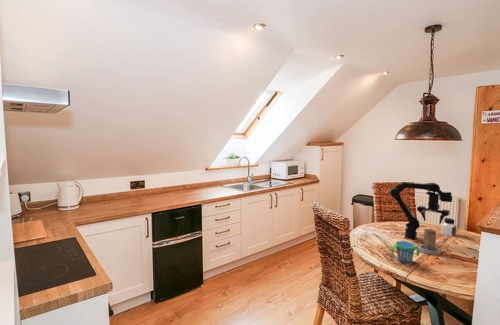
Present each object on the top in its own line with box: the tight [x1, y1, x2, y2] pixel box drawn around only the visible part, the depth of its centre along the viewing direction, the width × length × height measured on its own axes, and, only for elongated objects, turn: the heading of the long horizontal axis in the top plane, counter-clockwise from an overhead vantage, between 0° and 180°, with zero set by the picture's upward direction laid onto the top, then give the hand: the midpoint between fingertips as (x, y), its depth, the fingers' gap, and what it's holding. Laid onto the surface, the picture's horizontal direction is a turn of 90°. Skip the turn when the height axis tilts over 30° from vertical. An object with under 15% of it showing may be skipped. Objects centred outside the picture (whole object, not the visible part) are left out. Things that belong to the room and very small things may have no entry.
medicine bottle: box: [440, 217, 457, 237], centre depth 208 cm, size 7×7×12 cm
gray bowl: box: [417, 243, 441, 256], centre depth 179 cm, size 12×12×2 cm
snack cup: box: [390, 240, 420, 264], centre depth 165 cm, size 16×10×10 cm
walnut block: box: [423, 228, 437, 251], centre depth 178 cm, size 5×5×13 cm
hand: (432, 222), depth 195 cm, fingers open, 9 cm apart
